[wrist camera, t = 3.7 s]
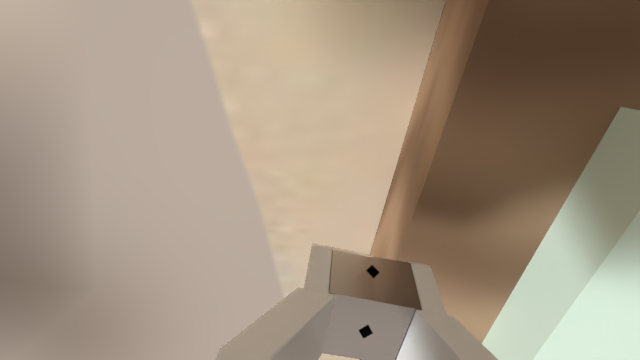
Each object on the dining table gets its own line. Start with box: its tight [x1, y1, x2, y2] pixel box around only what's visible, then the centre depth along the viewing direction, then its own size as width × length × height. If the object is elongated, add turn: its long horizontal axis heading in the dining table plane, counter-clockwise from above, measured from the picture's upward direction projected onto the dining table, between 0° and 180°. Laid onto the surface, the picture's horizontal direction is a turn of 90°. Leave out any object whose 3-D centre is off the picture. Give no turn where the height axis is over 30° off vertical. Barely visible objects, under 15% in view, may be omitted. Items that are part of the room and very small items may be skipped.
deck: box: [360, 0, 640, 360], centre depth 12 cm, size 14×16×4 cm
